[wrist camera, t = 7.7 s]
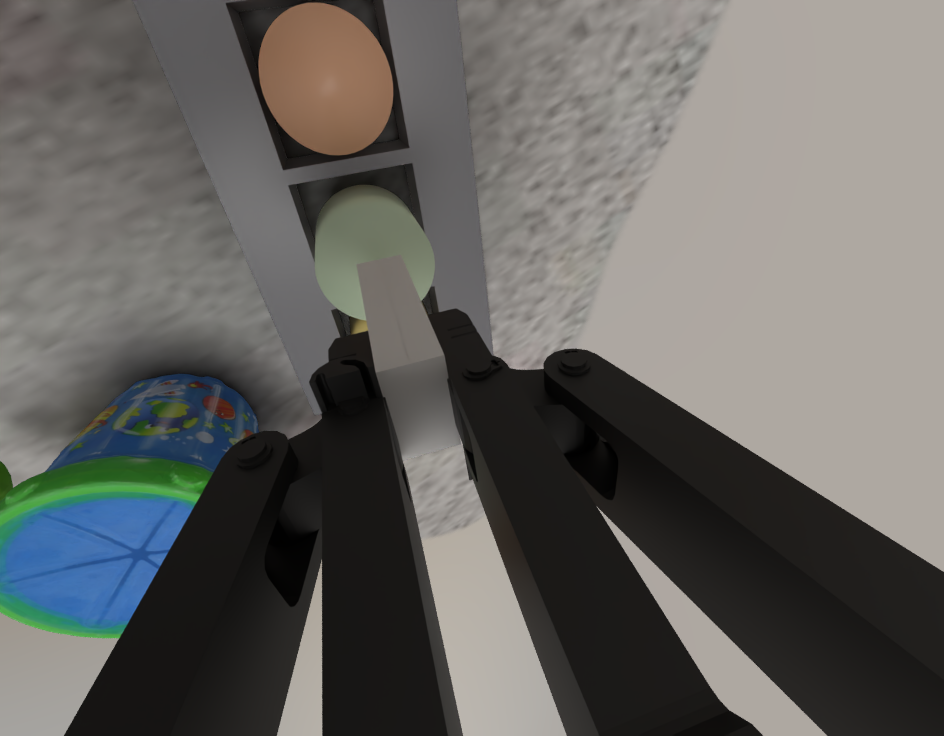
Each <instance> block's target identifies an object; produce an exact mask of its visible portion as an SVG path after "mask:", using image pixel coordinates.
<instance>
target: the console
mask: <svg viewBox="0 0 944 736" xmlns="http://www.w3.org/2000/svg"><path fill="white" fill-rule="evenodd" d="M132 1H133V3H134V6H135V8H136V10H137V13H138V15H139V17H140V19H141V22H142V24H143V26H144V28H145V31H146V33H147V35H148V38H149V40H150V42H151V44H152V47H153V49H154V51H155V53H156V56H157V58H158V60H159V63H160V65H161V67H162V69H163V72H164V74H165V76H166V79H167V81H168V83H169V85H170V88H171V90H172V92H173V94H174V97H175V99H176V101H177V104H178V106H179V108H180V110H181V113H182V115H183V117H184V119H185V122H186V124H187V126H188V129H189V131H190V133H191V135H192V138H193V140H194V142H195V145H196V147H197V149H198V151H199V154H200V156H201V158H202V160H203V163H204V165H205V167H206V170H207V172H208V174H209V176H210V179H211V181H212V183H213V186H214V188H215V190H216V192H217V195H218V197H219V199H220V201H221V204H222V206H223V208H224V211H225V213H226V215H227V217H228V220H229V222H230V224H231V226H232V229H233V231H234V233H235V236H236V238H237V240H238V242H239V245H240V247H241V249H242V252H243V254H244V256H245V258H246V261H247V263H248V265H249V267H250V270H251V272H252V274H253V277H254V279H255V281H256V283H257V286H258V288H259V290H260V292H261V295H262V297H263V299H264V302H265V304H266V306H267V308H268V311H269V313H270V315H271V318H272V320H273V322H274V324H275V327H276V329H277V331H278V333H279V336H280V338H281V340H282V343H283V345H284V347H285V349H286V352H287V354H288V356H289V359H290V361H291V363H292V365H293V368H294V370H295V372H296V374H297V377H298V379H299V381H300V384H301V386H302V388H303V390H304V393H305V395H306V397H307V399H308V402H309V404H310V406H311V409H312V411H313V413H314V415H319V414H322V412H321V410H320V408H319V405H318V403H317V401H316V398H315V396H314V394H313V391H312V389H311V386H310V384H309V381H310V378H311V376H312V374H313V373H314V372H315V371H316V370H317V369H318V368H319V367H321V366H323V365H324V364H326V363H328V362H329V360H328V349H329V348H330V346H331V345H332V343H333V341H334V340H335V338H339V337H343V336H346V334H345V331H344V328H343V325H342V322H341V319H340V316H339V313H338V310H337V308H336V307H335V306H334V305H333V304H332V303H331V302H330V301H329V300H328V299H327V298H326V296H325V295H324V294H323V292H322V290H321V288H320V286H319V284H318V281H317V278H316V274H315V241H314V238H313V235H312V232H311V229H310V226H309V223H308V220H307V217H306V214H305V211H304V208H303V205H302V202H301V199H300V196H299V193H298V190H297V187H296V184H299V183H304V182H310V181H315V180H321V179H326V178H332V177H337V176H343V175H349V174H354V173H360V172H365V171H371V170H376V169H382V168H387V167H393V166H398V165H405V170H406V175H407V181H408V186H409V191H410V196H411V202H412V207H413V212H414V217H415V219H416V221H417V222H418V224H419V225H420V227H421V228H422V230H423V231H424V233H425V235H426V236H427V238H428V240H429V242H430V244H431V247H432V249H433V253H434V259H435V272H434V278H433V281H432V284H431V287H430V289H429V296H430V302H431V307H432V312H433V314H434V313H438V312H442V311H446V310H450V309H455V308H456V309H458V310H460V311H462V312H464V313H466V314H467V315H468V316H469V318H470V320H471V321H472V323H473V325H474V326H475V328H476V329H477V332H478V333H479V334H480V336H481V338H482V339H483V341H484V343H485V344H486V346H487V348H488V349H489V351H490V353H491V354H492V355H493V345H492V335H491V326H490V316H489V307H488V297H487V287H486V278H485V268H484V258H483V249H482V239H481V229H480V220H479V210H478V200H477V191H476V181H475V171H474V162H473V152H472V142H471V133H470V123H469V113H468V104H467V94H466V84H465V75H464V65H463V55H462V46H461V36H460V27H459V17H458V7H457V0H373V2H374V7H375V12H376V17H377V23H378V28H379V33H380V38H381V44H382V49H383V51H384V53H385V55H386V58H387V61H388V63H389V66H390V71H391V75H392V81H393V107H394V112H395V117H396V123H397V128H398V133H399V138H400V139H399V140H394V141H388V142H382V143H376V144H370V145H369V146H367V147H365V148H364V149H362V150H360V151H357V152H355V153H351V154H347V155H328V154H323V153H318V154H312V155H306V156H300V157H295V158H289V159H287V157H286V154H285V151H284V148H283V145H282V142H281V139H280V136H279V133H278V130H277V127H276V124H275V121H274V118H273V115H272V113H271V111H270V109H269V107H268V105H267V103H266V100H265V98H264V95H263V92H262V88H261V85H260V78H259V73H258V70H257V67H256V64H255V61H254V58H253V55H252V52H251V49H250V46H249V43H248V40H247V37H246V34H245V31H244V28H243V25H242V22H241V19H240V16H239V13H238V12H243V11H251V10H260V9H268V8H277V7H285V6H294V5H300V4H304V3H320V2H328V1H337V0H132ZM493 356H494V355H493Z"/></svg>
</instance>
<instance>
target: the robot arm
mask: <svg viewBox="0 0 944 736" xmlns="http://www.w3.org/2000/svg"><path fill="white" fill-rule="evenodd" d="M356 265H357V271H358V276H359V282H360V287H361V293H362V299H363V304H364V310H365V316H366V321H367V327H368V331H364V332H360V333H356V334H352V335H348V336H343V337H339V338H335V340H334V341H333V343H332V345H331V346H330V348H329V349H328V360H329V362H328V363H326V364H324V365H323V366H321V367H319V368H318V369H317V370H316V371H315V372H314V373H313V374H312V376H311V378H310V381H309V384H310V386H311V389H312V391H313V394H314V396H315V398H316V401H317V403H318V405H319V408H320V410H321V412H322V419H321V420H320V421H319V422H318V423H317V424H315V425H314V426H313V427H311V428H310V429H308V430H306V431H305V432H303V433H301V434H299V435H297V436H295V437H293V438H291V439H289V440H288V439H287V437H286V436H285V435H284V434H282V433H280V432H278V431H263V432H259V433H255V434H252V435H250V436H248V437H246V438H244V439H242V440H240V441H239V442H237V443H236V444H235V445H233V446H232V447H231V448H229V450H228V451H227V452H226V453H225V455H224V456H223V457H222V458H221V460H220V462H219V464H218V465H217V467H216V469H215V471H214V472H213V474H212V476H211V478H210V479H209V481H208V483H207V485H206V487H205V488H204V490H203V492H202V494H201V495H200V497H199V499H198V501H197V502H196V504H195V506H194V508H193V509H192V511H191V513H190V515H189V516H188V518H187V520H186V522H185V523H184V525H183V527H182V529H181V531H180V532H179V534H178V536H177V538H176V539H175V541H174V543H173V545H172V546H171V548H170V550H169V552H168V553H167V555H166V557H165V559H164V560H163V562H162V564H161V566H160V568H159V569H158V571H157V573H156V575H155V576H154V578H153V580H152V582H151V583H150V585H149V587H148V589H147V590H146V592H145V594H144V596H143V597H142V599H141V601H140V603H139V605H138V606H137V608H136V610H135V612H134V613H133V615H132V617H131V619H130V620H129V622H128V624H127V626H126V627H125V629H124V631H123V633H122V634H121V636H120V638H119V640H118V641H117V643H116V645H115V647H114V649H113V650H112V652H111V654H110V656H109V657H108V659H107V661H106V663H105V664H104V666H103V668H102V670H101V672H100V673H99V675H98V677H97V679H96V680H95V682H94V684H93V686H92V687H91V689H90V691H89V693H88V694H87V696H86V698H85V700H84V701H83V703H82V705H81V707H80V708H79V710H78V712H77V714H76V716H75V717H74V719H73V721H72V723H71V724H70V726H69V728H68V730H67V731H66V733H65V735H64V736H277V732H278V728H279V725H280V721H281V717H282V713H283V709H284V705H285V701H286V697H287V693H288V689H289V685H290V681H291V677H292V674H293V669H294V665H295V662H296V658H297V654H298V650H299V646H300V642H301V638H302V634H303V630H304V626H305V622H306V618H307V614H308V611H309V607H310V603H311V599H312V595H313V591H314V587H315V583H316V579H317V576H318V572H319V568H320V564H321V560H322V699H323V700H322V723H323V724H322V726H323V727H322V730H323V731H322V732H323V733H322V735H323V736H463V733H462V728H461V724H460V719H459V715H458V710H457V705H456V700H455V696H454V692H453V687H452V682H451V677H450V673H449V668H448V663H447V659H446V654H445V649H444V645H443V640H442V635H441V631H440V626H439V621H438V617H437V612H436V607H435V603H434V598H433V594H432V589H431V584H430V580H429V575H428V570H427V565H426V561H425V556H424V551H423V547H422V542H421V537H420V533H419V528H418V523H417V519H416V514H415V509H414V505H413V500H412V496H411V491H410V486H409V482H408V477H407V474H406V470H405V467H404V464H403V461H405V460H408V459H412V458H415V457H418V456H422V455H425V454H429V453H432V452H436V451H439V450H443V449H446V448H449V447H453V446H456V445H460V444H461V441H462V443H463V448H464V453H465V459H466V464H467V470H468V475H469V480H472V479H473V481H474V484H475V486H476V489H477V492H478V494H479V497H480V500H481V503H482V505H483V508H484V511H485V514H486V516H487V519H488V522H489V524H490V527H491V530H492V532H493V535H494V538H495V541H496V543H497V546H498V549H499V552H500V554H501V557H502V560H503V562H504V565H505V568H506V570H507V574H508V576H509V579H510V582H511V584H512V587H513V590H514V593H515V595H516V598H517V601H518V603H519V606H520V609H521V611H522V614H523V617H524V620H525V622H526V625H527V628H528V631H529V633H530V636H531V639H532V642H533V644H534V647H535V650H536V653H537V655H538V658H539V661H540V663H541V666H542V669H543V671H544V674H545V677H546V680H547V683H548V685H549V688H550V690H551V693H552V696H553V699H554V702H555V704H556V707H557V710H558V713H559V715H560V718H561V721H562V723H563V726H564V729H565V732H566V734H567V736H763V735H762V734H761V733H760V732H759V731H758V730H757V729H756V728H755V727H754V726H753V725H752V724H751V723H749V722H748V721H746V720H744V719H742V718H741V717H739V716H738V715H736V714H734V713H733V712H731V711H729V710H728V709H727V708H726V707H725V706H724V705H723V703H722V702H721V701H720V700H719V699H718V697H717V696H716V695H715V693H714V692H713V691H712V689H711V688H710V686H709V684H708V683H707V682H706V680H705V678H704V676H703V675H702V673H701V672H700V670H699V669H698V667H697V665H696V664H695V662H694V661H693V659H692V658H691V656H690V654H689V653H688V651H687V650H686V648H685V647H684V645H683V643H682V642H681V640H680V638H679V637H678V635H677V634H676V632H675V630H674V629H673V627H672V626H671V624H670V623H669V621H668V619H667V618H666V616H665V615H664V613H663V611H662V610H661V608H660V607H659V605H658V603H657V602H656V600H655V599H654V597H653V595H652V594H651V592H650V591H649V589H648V588H647V586H646V584H645V583H644V581H643V580H642V578H641V576H640V575H639V573H638V572H637V570H636V568H635V567H634V565H633V564H632V562H631V561H630V559H629V557H628V556H627V554H626V553H625V551H624V549H623V548H622V546H621V545H620V543H619V541H618V540H617V538H616V537H615V535H614V534H613V532H612V530H611V529H610V527H609V526H608V524H607V522H606V521H605V519H604V518H603V516H602V514H601V513H600V511H599V510H598V508H599V509H600V510H601V511H602V512H603V513H604V514H605V515H606V516H607V517H608V518H609V519H610V520H611V521H612V522H613V523H614V524H615V525H616V526H617V527H618V528H619V529H620V530H621V531H622V532H623V533H624V534H625V535H626V536H627V537H628V538H629V539H630V540H631V541H632V542H633V543H634V544H635V545H636V546H637V547H638V548H639V549H640V550H641V551H642V552H643V553H644V554H645V555H646V556H647V557H648V558H649V559H650V560H651V561H652V562H653V563H654V564H655V565H657V566H658V568H659V569H660V570H662V572H663V573H664V574H665V575H666V576H667V577H669V578H670V580H671V581H672V582H674V584H675V585H676V586H677V587H679V589H681V590H682V591H683V592H684V593H685V594H686V595H687V596H688V597H689V598H690V599H691V600H692V601H693V602H694V603H695V604H696V605H697V606H698V607H699V608H700V609H701V610H702V611H703V612H704V613H705V614H706V615H707V616H708V617H709V618H710V619H711V620H712V621H713V622H714V623H715V624H716V625H717V626H718V627H719V628H720V629H721V630H722V631H723V632H724V633H725V634H726V635H727V636H728V637H729V638H730V639H731V640H732V641H733V642H734V643H735V644H736V645H737V646H738V647H739V648H740V649H741V650H742V651H743V652H744V653H745V654H746V655H747V656H748V657H749V658H750V659H751V660H752V661H753V662H754V663H755V664H756V665H757V666H758V667H759V668H760V669H761V670H762V671H763V672H764V673H765V674H766V675H767V676H768V677H769V678H770V679H771V680H772V681H773V682H774V683H775V684H776V685H777V686H778V687H779V688H780V689H781V690H782V691H783V692H784V693H785V694H786V695H787V696H788V697H789V698H790V699H791V700H792V701H793V702H794V703H795V704H796V705H797V706H798V707H799V708H800V709H801V710H802V711H804V713H805V714H806V715H807V716H808V717H809V718H810V719H811V720H813V722H814V723H815V724H817V726H818V727H819V728H820V729H822V731H823V732H824V733H825V734H826V735H827V736H944V572H943V571H941V570H939V569H938V568H936V567H935V566H933V565H932V564H930V563H928V562H927V561H925V560H924V559H922V558H920V557H919V556H917V555H916V554H914V553H912V552H911V551H909V550H907V549H906V548H904V547H903V546H901V545H900V544H898V543H896V542H895V541H893V540H892V539H890V538H889V537H887V536H885V535H884V534H882V533H881V532H879V531H877V530H875V529H874V528H873V527H871V526H869V525H868V524H866V523H865V522H863V521H861V520H860V519H858V518H857V517H855V516H853V515H852V514H850V513H849V512H847V511H845V510H844V509H842V508H841V507H839V506H837V505H836V504H834V503H833V502H831V501H830V500H828V499H826V498H824V497H823V496H822V495H820V494H818V493H817V492H815V491H814V490H812V489H810V488H809V487H807V486H806V485H804V484H802V483H801V482H799V481H798V480H796V479H794V478H793V477H791V476H790V475H788V474H786V473H785V472H783V471H782V470H780V469H779V468H777V467H775V466H774V465H772V464H770V463H769V462H767V461H766V460H764V459H763V458H761V457H759V456H758V455H756V454H755V453H753V452H751V451H750V450H748V449H747V448H745V447H743V446H742V445H740V444H738V443H737V442H736V441H734V440H732V439H731V438H729V437H728V436H726V435H724V434H723V433H721V432H720V431H718V430H716V429H715V428H713V427H712V426H710V425H708V424H707V423H705V422H704V421H702V420H700V419H699V418H697V417H696V416H694V415H692V414H691V413H689V412H688V411H686V410H684V409H683V408H681V407H680V406H678V405H677V404H675V403H673V402H672V401H670V400H669V399H667V398H665V397H664V396H662V395H660V394H659V393H657V392H656V391H654V390H653V389H651V388H649V387H648V386H646V385H645V384H643V383H641V382H640V381H638V380H637V379H635V378H634V377H632V376H630V375H628V374H627V373H626V372H624V371H622V370H621V369H619V368H618V367H616V366H614V365H613V364H611V363H610V362H608V361H606V360H605V359H603V358H602V357H600V356H598V355H597V354H595V353H592V352H590V351H588V350H582V349H564V350H561V351H557V352H554V353H553V354H551V355H550V356H548V357H547V359H546V360H545V362H544V369H538V370H516V369H511V368H509V367H508V365H507V364H506V363H505V362H504V361H503V360H502V359H501V358H498V357H496V356H493V355H492V354H491V353H490V351H489V349H488V348H487V346H486V344H485V343H484V341H483V339H482V338H481V336H480V334H479V333H478V332H477V329H476V328H475V326H474V325H473V323H472V321H471V320H470V318H469V316H468V315H467V314H466V313H464V312H462V311H460V310H458V309H456V308H455V309H450V310H446V311H442V312H438V313H434V314H430V315H427V314H426V311H425V309H424V307H423V305H422V302H421V300H420V298H419V295H418V293H417V291H416V288H415V286H414V284H413V281H412V279H411V277H410V275H409V272H408V270H407V268H406V265H405V263H404V261H403V258H402V256H401V255H397V256H392V257H387V258H383V259H378V260H374V261H369V262H364V263H360V264H356ZM459 435H460V436H459ZM460 438H461V441H460ZM596 506H597V507H598V508H597V507H596Z"/></svg>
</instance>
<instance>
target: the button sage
mask: <svg viewBox="0 0 944 736" xmlns="http://www.w3.org/2000/svg"><path fill="white" fill-rule="evenodd" d="M397 255H401V256H402V258H403V261H404V263H405V265H406V268H407V270H408V272H409V275H410V277H411V279H412V281H413V284H414V286H415V288H416V291H417V293H418V295H419V298H420V300H421V301H422V300H423V298H424V297H425V296H426V294H427V293H428V291H429V289H430V287H431V284H432V281H433V278H434V272H435V259H434V253H433V249H432V247H431V244H430V242H429V240H428V238H427V236H426V235H425V233H424V231H423V230H422V228H421V227H420V225H419V224H418V222H417V221H416V219H415V217H414V216H413V214H412V213H411V211H410V210H409V208H408V207H407V206H406V204H405V203H404V202H403V201H402V200H401V199H400V198H399V197H397V196H396V195H395V194H393V193H392V192H390V191H388V190H386V189H384V188H381V187H378V186H373V185H355V186H351V187H347V188H345V189H343V190H341V191H339V192H337V193H336V194H334V195H333V196H332V197H331V198H330V199H329V200H328V201H327V202H326V203H325V204H324V206H323V207H322V209H321V211H320V213H319V215H318V219H317V222H316V231H315V274H316V278H317V281H318V284H319V286H320V288H321V290H322V292H323V294H324V295H325V296H326V298H327V299H328V300H329V301H330V302H331V303H332V304H333V305H334V306H335V307H336V308H337V309H339V310H340V311H342V312H343V313H345V314H347V315H349V316H351V317H354V318H357V319H360V320H365V321H366V316H365V310H364V304H363V299H362V293H361V287H360V282H359V276H358V271H357V265H356V264H360V263H364V262H369V261H374V260H378V259H383V258H387V257H392V256H397Z"/></svg>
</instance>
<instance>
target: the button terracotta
mask: <svg viewBox="0 0 944 736" xmlns="http://www.w3.org/2000/svg"><path fill="white" fill-rule="evenodd" d="M258 65H259V78H260V85H261V88H262V92H263V95H264V98H265V100H266V103H267V105H268V107H269V109H270V111H271V113H272V115H273V116H274V118H275V119H276V120H277V122H278V123H279V124H280V126H281V127H282V128H283V129H284V130H285V131H286V132H287V133H288V134H289V135H290V136H291V137H292V138H293V139H295V140H296V141H297V142H299V143H300V144H302V145H303V146H305V147H307V148H309V149H311V150H313V151H316V152H319V153H323V154H328V155H347V154H351V153H355V152H357V151H360V150H362V149H364V148H365V147H367V146H369V145H370V144H371V143H372V142H373V141H375V139H376V138H377V137H378V136H379V135H380V134H381V132H382V131H383V129H384V127H385V125H386V123H387V121H388V119H389V116H390V113H391V108H392V103H393V81H392V75H391V71H390V66H389V63H388V61H387V58H386V55H385V53H384V51H383V49H382V47H381V46H380V44H379V42H378V41H377V39H376V38H375V36H374V35H373V34H372V32H371V31H370V30H369V29H368V28H367V27H366V26H365V25H364V24H363V23H362V22H361V21H360V20H358V19H357V18H356V17H355V16H353V15H352V14H350V13H348V12H347V11H345V10H343V9H341V8H339V7H336V6H333V5H329V4H325V3H304V4H300V5H297V6H294V7H292V8H289V9H288V10H286V11H285V12H283V13H282V14H281V15H279V16H278V17H277V18H276V19H275V20H274V22H273V23H272V24H271V25H270V27H269V28H268V30H267V32H266V34H265V36H264V39H263V41H262V44H261V48H260V53H259V63H258Z"/></svg>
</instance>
